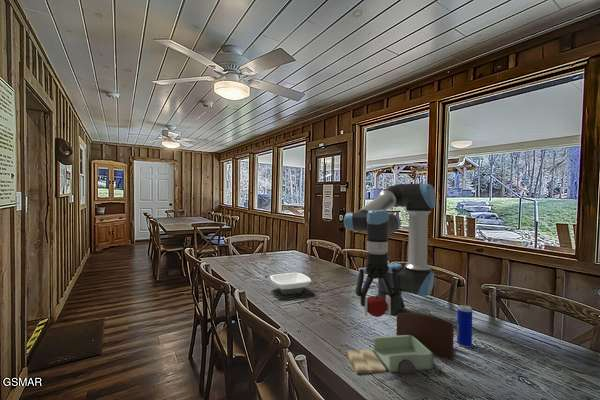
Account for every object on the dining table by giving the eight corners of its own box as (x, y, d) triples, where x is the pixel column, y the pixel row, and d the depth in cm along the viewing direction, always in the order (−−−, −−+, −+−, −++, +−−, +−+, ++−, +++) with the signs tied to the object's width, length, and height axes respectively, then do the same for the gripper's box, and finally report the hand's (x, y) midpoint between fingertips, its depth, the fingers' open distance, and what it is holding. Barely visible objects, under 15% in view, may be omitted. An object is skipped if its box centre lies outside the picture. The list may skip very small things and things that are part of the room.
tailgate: (373, 352, 111) (345, 353, 110) (373, 349, 111) (345, 350, 109) (388, 373, 99) (357, 373, 97) (389, 369, 99) (357, 370, 97)
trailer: (371, 350, 114) (371, 334, 114) (408, 347, 116) (409, 332, 116) (393, 379, 96) (393, 360, 96) (436, 375, 98) (436, 357, 98)
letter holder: (452, 360, 108) (453, 321, 107) (395, 346, 117) (396, 311, 117) (453, 348, 116) (454, 312, 116) (400, 336, 126) (400, 302, 126)
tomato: (387, 312, 112) (387, 293, 112) (386, 320, 105) (387, 300, 104) (365, 309, 115) (365, 291, 115) (363, 317, 107) (363, 297, 107)
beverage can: (458, 340, 122) (459, 303, 122) (472, 344, 119) (473, 306, 119) (455, 344, 118) (456, 307, 118) (470, 349, 115) (471, 310, 115)
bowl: (314, 295, 176) (314, 281, 175) (277, 300, 167) (277, 285, 167) (300, 284, 196) (300, 271, 196) (266, 288, 188) (266, 275, 187)
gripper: (352, 255, 104) (351, 319, 105) (409, 254, 107) (408, 317, 107) (346, 250, 112) (346, 311, 112) (400, 250, 114) (399, 309, 115)
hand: (376, 314), depth 110 cm, fingers closed on tomato, 8 cm apart
